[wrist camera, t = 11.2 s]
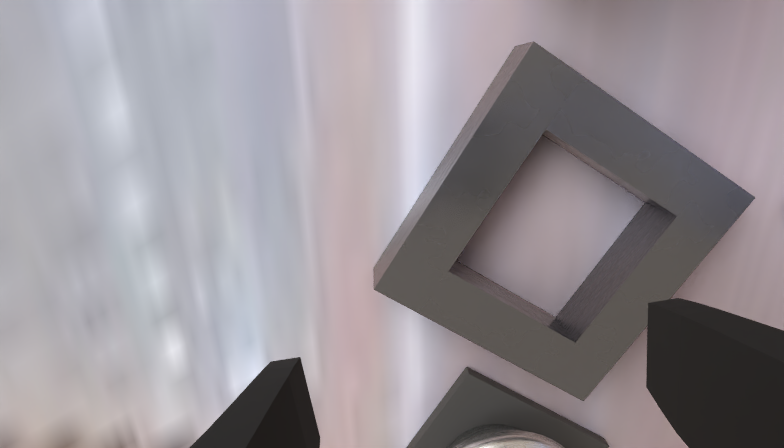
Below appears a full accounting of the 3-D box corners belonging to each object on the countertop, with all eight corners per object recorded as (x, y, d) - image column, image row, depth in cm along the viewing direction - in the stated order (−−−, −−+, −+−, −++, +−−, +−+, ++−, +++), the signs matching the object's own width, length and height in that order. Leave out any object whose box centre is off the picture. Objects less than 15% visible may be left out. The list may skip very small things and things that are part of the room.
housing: (715, 185, 18) (755, 197, 16) (563, 371, 21) (583, 401, 19) (515, 46, 16) (533, 41, 15) (373, 268, 19) (373, 289, 17)
